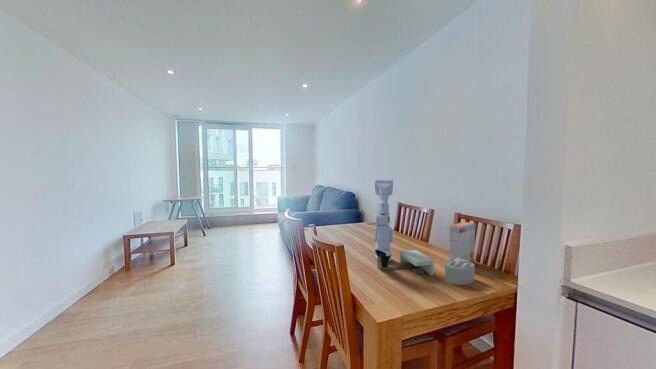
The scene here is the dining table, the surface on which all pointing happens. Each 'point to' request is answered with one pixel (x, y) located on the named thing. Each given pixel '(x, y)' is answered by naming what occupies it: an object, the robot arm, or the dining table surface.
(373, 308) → the dining table surface
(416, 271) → the grey square block
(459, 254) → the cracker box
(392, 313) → the dining table surface
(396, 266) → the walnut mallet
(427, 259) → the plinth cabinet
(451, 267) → the lumpy-topped squat cylinder
